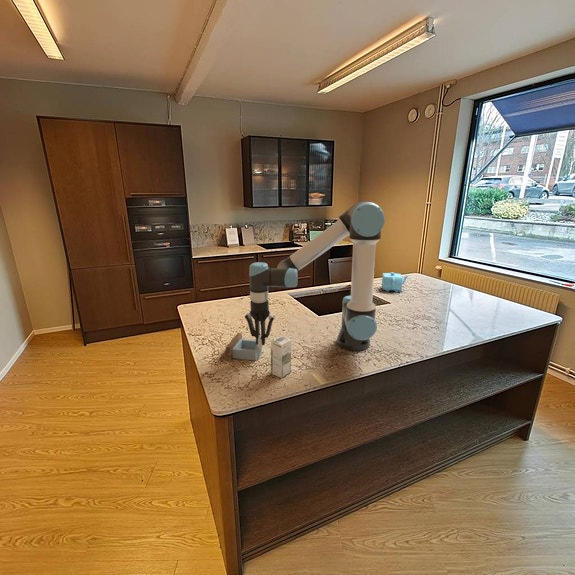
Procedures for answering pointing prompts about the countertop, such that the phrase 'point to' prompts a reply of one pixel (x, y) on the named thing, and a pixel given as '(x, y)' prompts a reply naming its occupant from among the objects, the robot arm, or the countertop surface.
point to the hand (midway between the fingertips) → (260, 351)
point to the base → (231, 347)
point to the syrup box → (281, 356)
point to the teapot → (393, 281)
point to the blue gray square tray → (246, 350)
